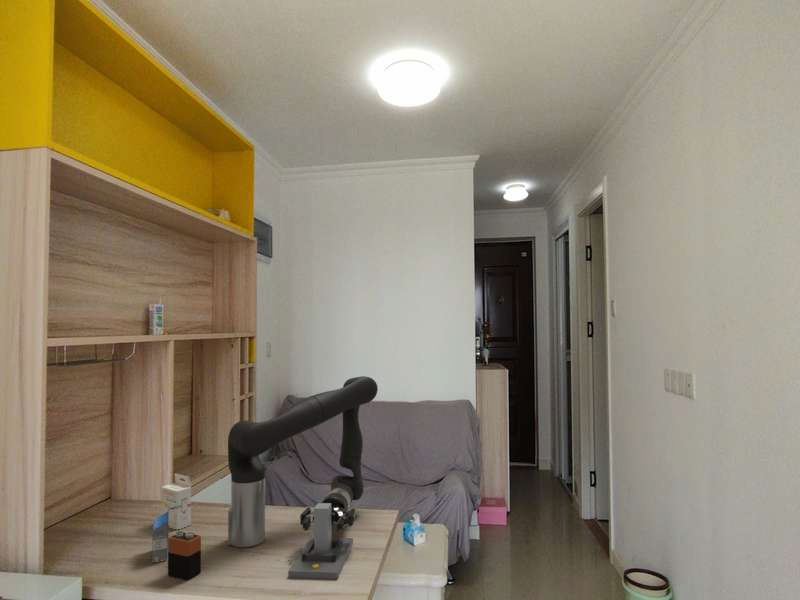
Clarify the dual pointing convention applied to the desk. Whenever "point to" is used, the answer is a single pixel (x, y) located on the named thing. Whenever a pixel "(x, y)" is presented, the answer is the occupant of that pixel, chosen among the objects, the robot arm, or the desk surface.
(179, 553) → the battery
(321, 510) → the plug
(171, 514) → the ink cartridge box
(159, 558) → the label tape cartridge
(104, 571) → the desk surface
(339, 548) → the power dock
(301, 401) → the robot arm
